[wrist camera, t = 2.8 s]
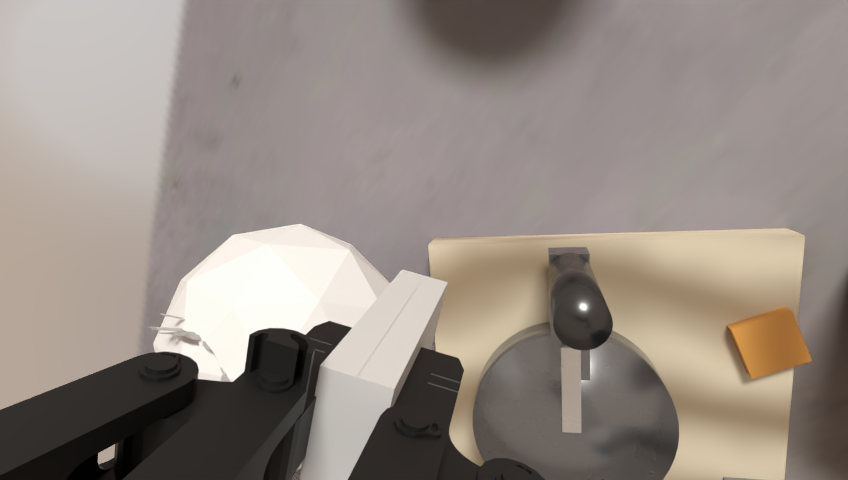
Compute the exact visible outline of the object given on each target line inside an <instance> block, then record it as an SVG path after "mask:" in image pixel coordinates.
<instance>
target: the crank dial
mask: <svg viewBox="0 0 848 480" xmlns="http://www.w3.org/2000/svg"><path fill="white" fill-rule="evenodd" d="M548 264H549V267H548V282H549V310H550V322H544V323H540V324H537V325H533V326H530V327H528V328H526V329H523V330H521V331H519V332H517V333H516V334H514V335H513V336H511V337H509V338H508V339H507V340H506V341H504V342H503V343H502V344H501V345H500V346H499V347H498V348H497V349H496V350H495V351H494V352H493V354H492V355H491V356H490V358H489V359H488V361H487V362H486V364H485V366H484V368H483V371H482V373H481V376H480V379H479V383H478V388H477V392H476V397H475V402H474V408H473V432H474V437H475V441H476V445H477V448H478V450H479V452H480V455H481V457H482V459H483V461H484V462H486V461H488V460H491V459H494V458H508V459H512V460H515V461H518V462H522V463H524V464H525V465H527V466H529V467H531V468H532V469H534V470H536V471H537V472H538V473H539V474H540V475H541V476H542V477H543V478H544V479H545V480H663V479H664V477H665V476H666V474H667V473H668V471H669V470H670V468H671V466H672V463H673V461H674V459H675V456H676V452H677V449H678V442H679V422H678V417H677V412H676V409H675V406H674V403H673V400H672V398H671V396H670V394H669V392H668V390H667V388H666V386H665V384H664V383H663V381H662V379H661V377H660V375H659V373H658V371H657V369H656V368H655V366H654V365H653V363H652V362H651V360H650V359H649V358H648V356H647V355H646V354H645V353H644V352H643V351H642V350H641V349H640V348H639V347H638V346H636V345H635V344H634V343H633V342H631V341H630V340H629V339H627V338H626V337H624V336H622V335H621V334H619V333H617V332H615V331H613V330H612V328H613V319H612V316H611V313H610V311H609V308H608V306H607V304H606V301H605V299H604V297H603V294H602V292H601V290H600V287H599V285H598V283H597V280H596V278H595V276H594V273H593V271H592V269H591V266H590V254H589V252H588V249H587V247H559V248H548Z"/></svg>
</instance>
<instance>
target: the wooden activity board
mask: <svg viewBox="0 0 848 480" xmlns="http://www.w3.org/2000/svg"><path fill="white" fill-rule="evenodd" d="M804 243H805V235H802V234H800V233H797V232H795V231H792V230H789V229H787V228H778V229H743V230H707V231H672V232H637V233H601V234H566V235H530V236H495V237H460V238H434V239H433V240H432V241H431V243H430V244H429V245H428V248H429V262H430V276H431V278H434V279H438V280H442V281H445V282H448V284H447V288H446V292H445V296H444V300H443V304H442V308H441V312H440V316H439V320H438V324H437V328H436V332H435V346H436V352H440V353H443V354H446V355H450V356H453V357H456V358H459V360H460V362H461V364H462V367H463V369H464V373H463V376H462V380H461V384H460V388H459V392H458V396H457V400H456V404H455V408H454V411H453V415H452V419H451V423H450V427H449V435H450V438H451V441H452V443H453V444H454V446H455V447H456V449H457V450H458V451H459V452H460V453H461V454H462V455H463V456H465V457H466V458H468V459H469V460H470V461H472V462H473V463H475V464H477V465H478V466H480V467H481V466H482V465H483V463H484V461H483V459H482V457H481V455H480V452H479V450H478V448H477V445H476V441H475V437H474V432H473V408H474V402H475V397H476V392H477V388H478V383H479V379H480V376H481V373H482V371H483V368H484V366H485V364H486V362H487V361H488V359H489V358H490V356H491V355H492V354H493V352H494V351H495V350H496V349H497V348H498V347H499V346H500V345H501V344H502V343H503V342H504V341H506V340H507V339H508V338H509V337H511V336H513V335H514V334H516V333H517V332H519V331H521V330H523V329H526V328H528V327H530V326H533V325H537V324H540V323H544V322H550V310H549V282H548V267H549V264H548V248H559V247H587V249H588V252H589V254H590V266H591V269H592V271H593V273H594V276H595V278H596V280H597V283H598V285H599V287H600V290H601V292H602V294H603V297H604V299H605V301H606V304H607V306H608V308H609V311H610V313H611V316H612V319H613V328H612V330H613V331H615V332H617V333H619V334H621V335H622V336H624V337H626V338H627V339H629V340H630V341H631V342H633V343H634V344H635V345H636V346H638V347H639V348H640V349H641V350H642V351H643V352H644V353H645V354H646V355H647V356H648V358H649V359H650V360H651V362H652V363H653V365H654V366H655V368H656V369H657V371H658V373H659V375H660V377H661V379H662V381H663V383H664V384H665V386H666V388H667V390H668V392H669V394H670V396H671V398H672V400H673V403H674V406H675V409H676V412H677V417H678V422H679V442H678V449H677V452H676V456H675V459H674V461H673V463H672V466H671V468H670V470H669V471H668V473H667V474H666V476H665V477H664V479H663V480H784V478H785V466H786V455H787V443H788V431H789V419H790V407H791V396H792V384H793V372H794V366H798V365H801V364H804V363H808V362H811V361H812V359H811V357H810V354H809V352H808V349H807V347H806V344H805V342H804V339H803V337H802V334H801V332H800V329H799V327H798V313H799V301H800V290H801V278H802V266H803V254H804Z"/></svg>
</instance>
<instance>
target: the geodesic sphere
mask: <svg viewBox="0 0 848 480" xmlns="http://www.w3.org/2000/svg"><path fill="white" fill-rule="evenodd" d="M389 284H390V283H389V282H388V281H387V280H386V279H385V278H384V277H383V276H382V275H381V274H380V273H379V272H378V271H377V270H376V269H375V268H374V267H373V266H372V265H371V264H370V263H369V262H368V261H367V260H366V259H365V258H364V257H363V256H362V255H361V254H360V253H359V252H358V251H357V250H356V249H355V248H354V247H353V246H352V245H351V244H349V243H347V242H344V241H342V240H339V239H337V238H334V237H332V236H329V235H327V234H325V233H322V232H320V231H317V230H315V229H312V228H310V227H307V226H305V225H302V224H296V225H290V226H284V227H278V228H272V229H266V230H260V231H254V232H248V233H242V234H236V235H232V236H231V237H230V238H229V239H228V240H227V241H225V242H224V243H223V244H222V245H221V246H220V247H218V248H217V249H216V250H215V251H214V252H213V253H211V254H210V255H209V256H208V257H207V258H206V259H205V260H203V261H202V262H201V263H200V264H199V265H198V266H196V267H195V268H194V269H193V270H192V271H191V272H189V273H188V274H187V275H186V276H185V277H184V278H182V279H181V281H180V283H179V286H178V288H177V290H176V292H175V295H174V297H173V299H172V302H171V304H170V306H169V309H168V311H167V313H166V314H161V315H164V316H165V318H164V320H163V322H162V325H161V327H152V328H160V329H156V330H159V332H158V334H157V336H156V339H155V341H154V343H153V345H154V350H155V352H164V351H165V352H174V353H180V354H182V355H185V356H188V357H190V358H191V359H193V360H194V361H195V362H196V363H197V365H198V369H199V373H198V379H204V380H213V381H223V382H233V381H234V380H235V379H237V378H238V377H239V376H240V375H241V374H242V373H243V372H244V370H245V363H246V356H247V348H248V341H249V335H250V334H252V333H254V332H256V331H258V330H262V329H268V328H285V329H290V330H295V331H298V332H300V333H302V334H305V335H306V334H307V333H308V332H309V331H310V330H311V329H312V328H313V327H314V326H316V325H319V324H322V323H325V322H328V321H332V322H335V323H338V324H342V325H345V326H348V327H352V328H353V327H354V325H355V324H356V323H357V322H358V321H359V320H360V318H361V317H362V316H363V315H364V314H365V312H366V311H367V310H368V309H369V308H370V307H371V305H372V304H373V303H374V302H375V301H376V300H377V298H378V297H379V296H380V295H381V294H382V293H383V291H384V290H385V289H386V288H387V287H388V286H389ZM301 467H302V463H301V464H300V466H299V467H298V469H300V468H301ZM298 469H297V470H298Z"/></svg>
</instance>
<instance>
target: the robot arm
mask: <svg viewBox="0 0 848 480" xmlns="http://www.w3.org/2000/svg"><path fill="white" fill-rule="evenodd" d="M447 284H448V282H445V281H442V280H438V279H434V278H431V277H427V276H424V275H420V274H417V273H413V272H409V271H406V270H401V272H400V273H399V274H398V275H397V276H396V277H395V279H394V280H393V281H392V282H391V283H390V284H389V286H388V287H387V288H386V289H385V290H384V291H383V293H382V294H381V295H380V296H379V297H378V298H377V300H376V301H375V302H374V303H373V304H372V305H371V307H370V308H369V309H368V310H367V311H366V312H365V314H364V315H363V316H362V317H361V318H360V320H359V321H358V322H357V323H356V324H355V325H354V327H353V328H352V327H348V326H345V325H342V324H338V323H335V322H332V321H328V322H325V323H322V324H319V325H316V326H314V327H313V328H312V329H311V330H310V331H309V332H308V333H307V334H306V335H305V334H302V333H300V332H298V331H295V330H290V329H285V328H268V329H262V330H258V331H256V332H254V333H252V334H250V335H249V341H248V348H247V356H246V363H245V370H244V372H243V373H242V374H241V375H240V376H239V377H238V378H237V379H235V380H234V381H233V382H223V381H213V380H204V379H198V373H199V369H198V365H197V363H196V362H195V361H194V360H193V359H191V358H190V357H188V356H185V355H182V354H180V353H174V352H165V351H164V352H154V353H148V354H144V355H140V356H137V357H134V358H132V359H129V360H127V361H124V362H122V363H119V364H117V365H114V366H111V367H109V368H106V369H104V370H101V371H99V372H96V373H93V374H91V375H88V376H86V377H83V378H81V379H78V380H76V381H73V382H70V383H68V384H65V385H63V386H60V387H58V388H55V389H53V390H50V391H47V392H45V393H43V394H40V395H37V396H35V397H32V398H30V399H27V400H25V401H22V402H19V403H17V404H14V405H12V406H9V407H7V408H4V409H2V410H0V480H292V476H293V475H294V473H295V472H296V470H297V469H298V467H299V466H300V464H301V463H302V467H301V472H300V478H299V480H545V479H544V478H543V477H542V476H541V475H540V474H539V473H538V472H537V471H536V470H534V469H532V468H531V467H529V466H527V465H525V464H524V463H522V462H518V461H515V460H512V459H508V458H494V459H491V460H488V461H486V462H484V463H483V465H482V466H481V467H480V466H478V465H477V464H475V463H473V462H472V461H470V460H469V459H468V458H466V457H465V456H463V455H462V454H461V453H460V452H459V451H458V450H457V449H456V447H455V446H454V444H453V443H452V441H451V438H450V435H449V427H450V423H451V419H452V415H453V411H454V408H455V404H456V400H457V396H458V392H459V388H460V384H461V380H462V376H463V373H464V369H463V367H462V364H461V362H460V360H459V358H456V357H453V356H450V355H446V354H443V353H440V352H436V351H433V350H431V348H432V344H433V340H434V336H435V332H436V328H437V324H438V320H439V316H440V312H441V308H442V304H443V300H444V296H445V292H446V288H447ZM114 444H115V457H114V458H113V459H111V460H109V461H107V462H105V463H102V464H99V465H98V462H97V460H98V453H99V452H101V451H103V450H104V449H106V448H108V447H110V446H112V445H114Z"/></svg>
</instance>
